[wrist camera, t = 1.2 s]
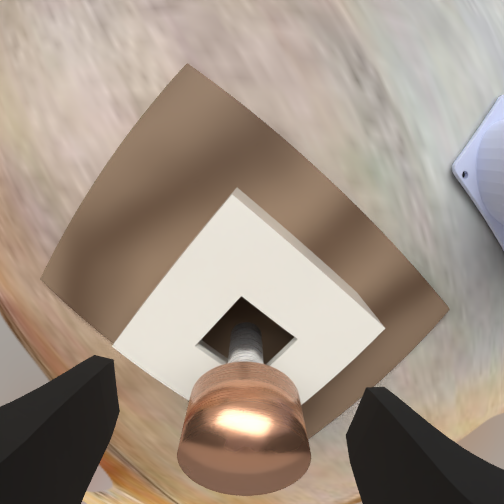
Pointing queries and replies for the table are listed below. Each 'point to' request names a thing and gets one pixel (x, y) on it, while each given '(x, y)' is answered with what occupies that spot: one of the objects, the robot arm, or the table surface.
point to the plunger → (244, 424)
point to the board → (200, 212)
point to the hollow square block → (258, 294)
